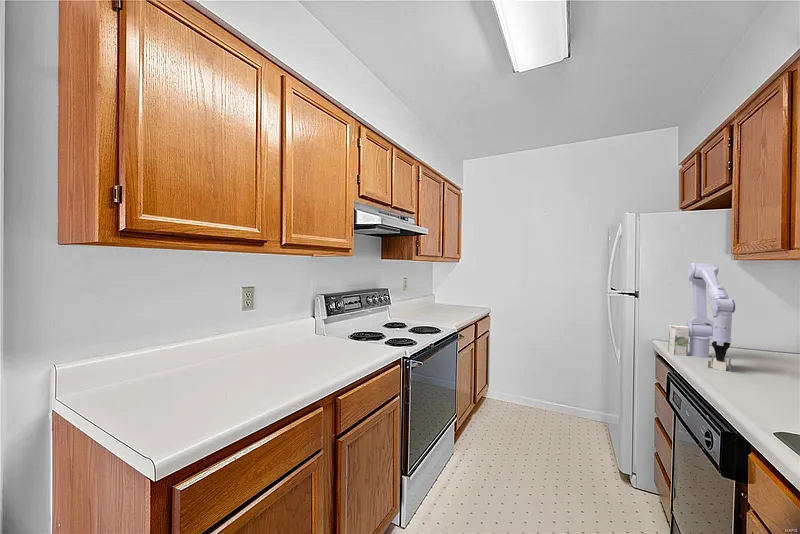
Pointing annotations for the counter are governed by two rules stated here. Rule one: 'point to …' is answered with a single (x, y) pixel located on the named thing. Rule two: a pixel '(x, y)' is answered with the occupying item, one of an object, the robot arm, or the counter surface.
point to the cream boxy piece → (713, 359)
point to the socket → (710, 365)
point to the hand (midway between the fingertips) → (720, 360)
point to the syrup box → (678, 340)
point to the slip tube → (720, 364)
